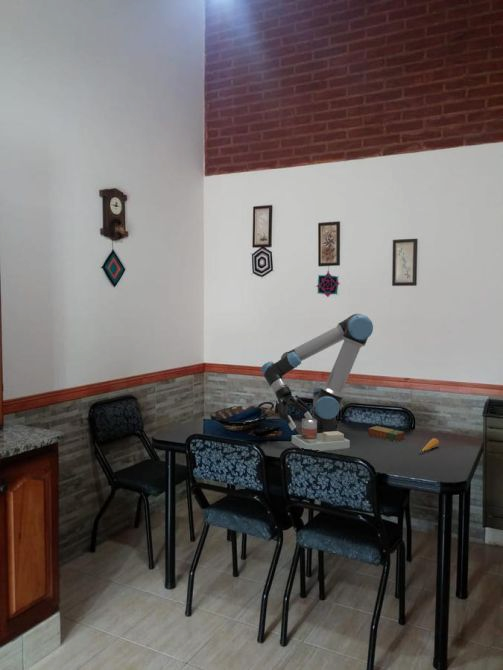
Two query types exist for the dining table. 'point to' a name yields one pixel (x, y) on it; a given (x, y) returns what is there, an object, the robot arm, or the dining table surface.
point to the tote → (320, 443)
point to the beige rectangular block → (332, 436)
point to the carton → (385, 433)
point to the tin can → (309, 430)
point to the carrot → (431, 444)
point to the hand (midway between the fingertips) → (303, 426)
